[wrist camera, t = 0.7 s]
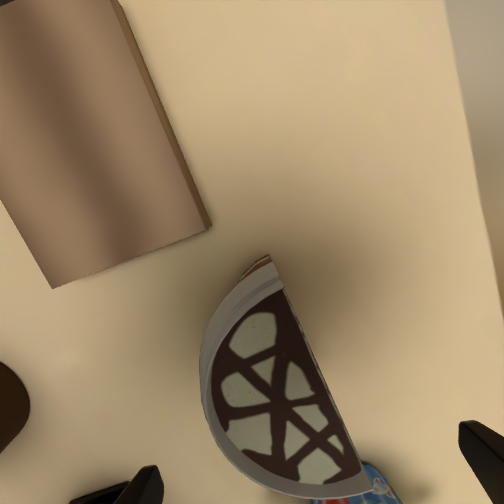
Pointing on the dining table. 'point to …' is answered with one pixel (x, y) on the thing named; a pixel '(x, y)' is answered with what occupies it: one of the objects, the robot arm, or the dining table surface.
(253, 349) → the food container
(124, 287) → the dining table surface
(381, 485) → the snack cup
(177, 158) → the base board
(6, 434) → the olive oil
